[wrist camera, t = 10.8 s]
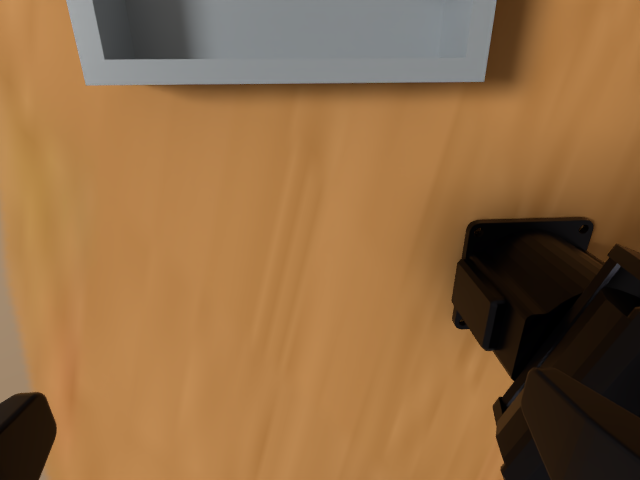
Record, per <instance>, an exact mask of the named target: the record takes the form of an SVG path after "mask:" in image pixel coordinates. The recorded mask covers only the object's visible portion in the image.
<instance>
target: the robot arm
mask: <svg viewBox="0 0 640 480" xmlns="http://www.w3.org/2000/svg"><path fill="white" fill-rule="evenodd" d="M582 225H583V228H582V229H581V230H579V228H580V227H581V226H582ZM477 228H481V230H480V232H478V233H477V234H474V231H475V230H476V229H477ZM592 231H593V223H592V222H591V221H589V220H587V219H586V218H582V217H575V218H540V219H504V220H476V221H473V222H471V223H470V224H469V225H468V226H467V229H466V234H465V241H464V247H463V253H462V259H460V261H459V262H458V263H457V269H456V275H455V282H454V288H453V295H452V303H453V305H454V310H453V316H452V321H453V323H454V324H455V326H456V328H458V329H470V331H471V332H472V334H473V335H474V337H475V338H476V340H477V341H478V343H479V344H480V346H481V347H482V348H483V349H484V350H485V351H493V352H494V354H495V355H496V357H497V358H498V360H499V361H500V363H501V364H502V366H503V367H504V368H505V370H506V371H507V373H508V374H509V376H510V377H511V379H512V380H513V381H514V383H513V384H512V385H511V386H510V388H509V389H508V390H507V392H506V393H505V394H504V396H503V397H499V398H498V399H497V400H496V402H495V403H494V404H493V411H494V416H495V421H496V426H497V429H496V439H497V442H498V445H499V448H500V452H501V455H502V458H503V460H504V464H503V465H502V466H501V473H502V476H503V478H504V480H640V253H638V252H635V251H633V250H631V249H628V248H626V247H624V246H621V245H619V244H616V245H615V246H614V247H613V248H612V250H611V251H610V252H609V254H608V255H607V256H609V259H608V260H607V261H606V263H604V262H602V261H601V260H599V259H598V258H596V257H595V256H593V255H592V254H590V253H589V252H587V248H588V244H589V241H590V238H591V234H592ZM461 319H463V321H461V322H459V321H460V320H461ZM56 431H57V427H56V422H55V419H54V417H53V414H52V412H51V409H50V406H49V404H48V401H47V399H46V397H45V395H43V394H42V393H39V392H32V393H19V394H15V395H13V396H11V397H10V398H8V399H7V400H5V401H3V402H2V403H0V480H39V478H40V476H41V473H42V471H43V468H44V466H45V463H46V460H47V458H48V455H49V453H50V450H51V448H52V445H53V443H54V440H55V437H56Z"/></svg>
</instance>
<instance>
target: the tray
mask: <svg viewBox="0 0 640 480" xmlns="http://www.w3.org/2000/svg"><path fill="white" fill-rule="evenodd" d="M66 1H67V5H68V10H69V14H70V18H71V23H72V27H73V31H74V36H75V40H76V44H77V49H78V53H79V57H80V62H81V66H82V70H83V75H84V79H85V83H86V85H178V84H289V83H399V82H484V80H485V73H486V67H487V60H488V54H489V47H490V41H491V34H492V27H493V21H494V14H495V8H496V1H497V0H66Z"/></svg>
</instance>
